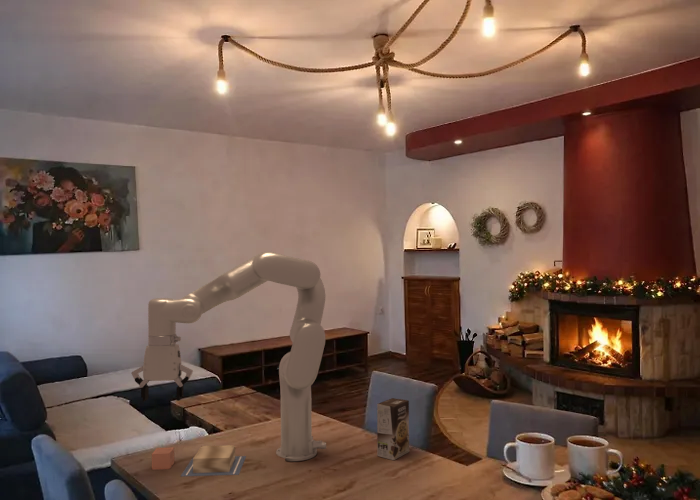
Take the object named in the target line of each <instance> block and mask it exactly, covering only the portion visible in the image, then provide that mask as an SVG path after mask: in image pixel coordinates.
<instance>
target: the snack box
mask: <svg viewBox="0 0 700 500" xmlns="http://www.w3.org/2000/svg"><path fill="white" fill-rule="evenodd" d="M409 404H410V401H409V400H407V399H402V398H393V397H391V398H389V399H386V400H384V401H381V402H378V403H377V404H376V407H377V408H376V411H377V412H376V419H377V423H376V426H377V429H376V430H377V432H376V435H377V437H376V438H377V441H376V444H377V445H376V446H377V447H376V448H377V450H376V451H377V453H376V454H377V457H381V458H383V459H388V460H390V461H395V460H397V459H399V458H401V457H402V456H404V455H406V454H408V453H409V452H410V405H409Z"/></svg>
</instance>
